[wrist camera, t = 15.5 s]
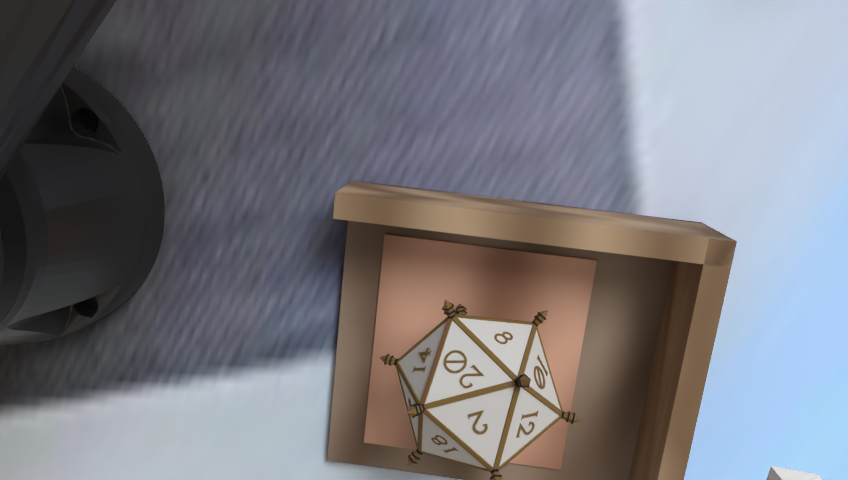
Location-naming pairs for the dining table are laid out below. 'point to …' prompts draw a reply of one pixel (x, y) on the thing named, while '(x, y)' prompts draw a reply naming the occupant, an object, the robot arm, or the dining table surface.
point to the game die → (478, 390)
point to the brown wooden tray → (521, 300)
